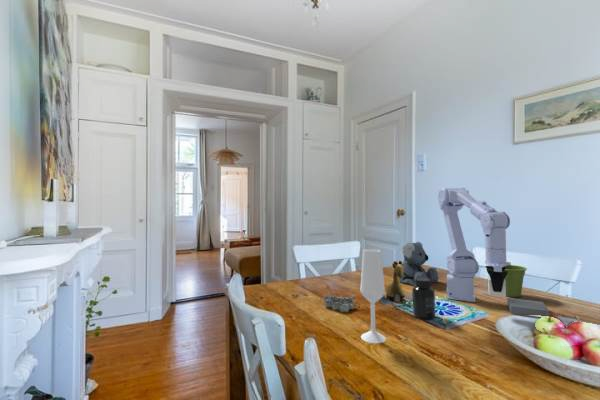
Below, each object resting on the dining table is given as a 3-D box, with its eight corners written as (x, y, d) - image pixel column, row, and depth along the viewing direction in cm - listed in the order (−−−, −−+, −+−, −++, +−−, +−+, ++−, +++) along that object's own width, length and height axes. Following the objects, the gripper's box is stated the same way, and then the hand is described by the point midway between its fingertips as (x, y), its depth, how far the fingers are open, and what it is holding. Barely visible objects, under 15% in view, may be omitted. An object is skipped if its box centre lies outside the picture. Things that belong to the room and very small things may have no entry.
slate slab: (510, 315, 98) (510, 305, 98) (507, 306, 106) (507, 297, 107) (549, 320, 93) (549, 310, 93) (542, 310, 102) (542, 301, 102)
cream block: (489, 295, 96) (488, 279, 96) (488, 291, 100) (488, 276, 100) (505, 297, 94) (505, 281, 94) (504, 293, 97) (504, 278, 98)
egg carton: (357, 308, 105) (356, 297, 105) (344, 314, 100) (344, 302, 100) (333, 302, 112) (333, 291, 113) (320, 306, 107) (320, 295, 107)
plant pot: (515, 290, 124) (514, 264, 124) (535, 299, 112) (534, 270, 112) (486, 290, 125) (485, 263, 125) (502, 299, 113) (501, 269, 113)
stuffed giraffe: (383, 307, 106) (384, 262, 107) (371, 294, 124) (372, 256, 125) (428, 308, 106) (428, 264, 106) (409, 295, 124) (410, 257, 124)
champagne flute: (367, 330, 85) (366, 248, 86) (389, 336, 81) (388, 250, 82) (356, 338, 80) (355, 251, 81) (379, 345, 76) (378, 253, 77)
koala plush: (424, 289, 128) (423, 244, 129) (387, 281, 141) (386, 241, 142) (440, 282, 140) (439, 241, 140) (405, 275, 153) (404, 238, 153)
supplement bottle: (434, 313, 99) (433, 277, 99) (436, 321, 92) (435, 282, 92) (412, 311, 101) (411, 276, 101) (413, 318, 94) (412, 281, 95)
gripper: (513, 252, 89) (514, 297, 88) (507, 246, 101) (508, 285, 101) (485, 250, 92) (486, 294, 92) (483, 245, 105) (484, 283, 104)
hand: (496, 289), depth 97 cm, fingers closed on cream block, 4 cm apart
